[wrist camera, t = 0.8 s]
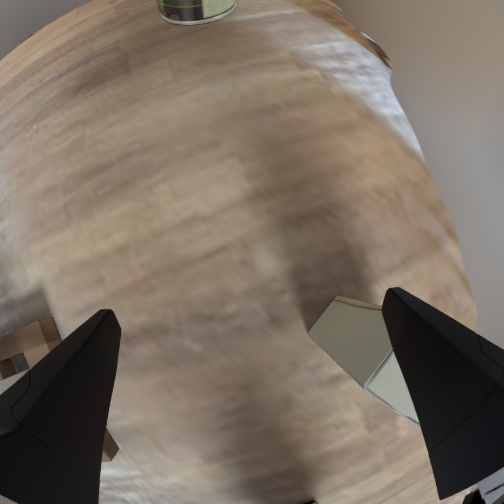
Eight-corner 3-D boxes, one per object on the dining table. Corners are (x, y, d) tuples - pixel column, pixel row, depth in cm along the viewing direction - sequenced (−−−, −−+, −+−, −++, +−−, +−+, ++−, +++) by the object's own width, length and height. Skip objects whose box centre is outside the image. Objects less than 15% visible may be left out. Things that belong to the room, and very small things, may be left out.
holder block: (119, 448, 21) (111, 461, 18) (38, 452, 20) (28, 461, 17) (52, 317, 21) (38, 320, 19) (-15, 347, 20) (-27, 351, 18)
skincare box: (382, 333, 23) (474, 368, 11) (352, 371, 22) (428, 433, 10) (334, 292, 23) (420, 308, 11) (302, 334, 22) (362, 389, 10)
